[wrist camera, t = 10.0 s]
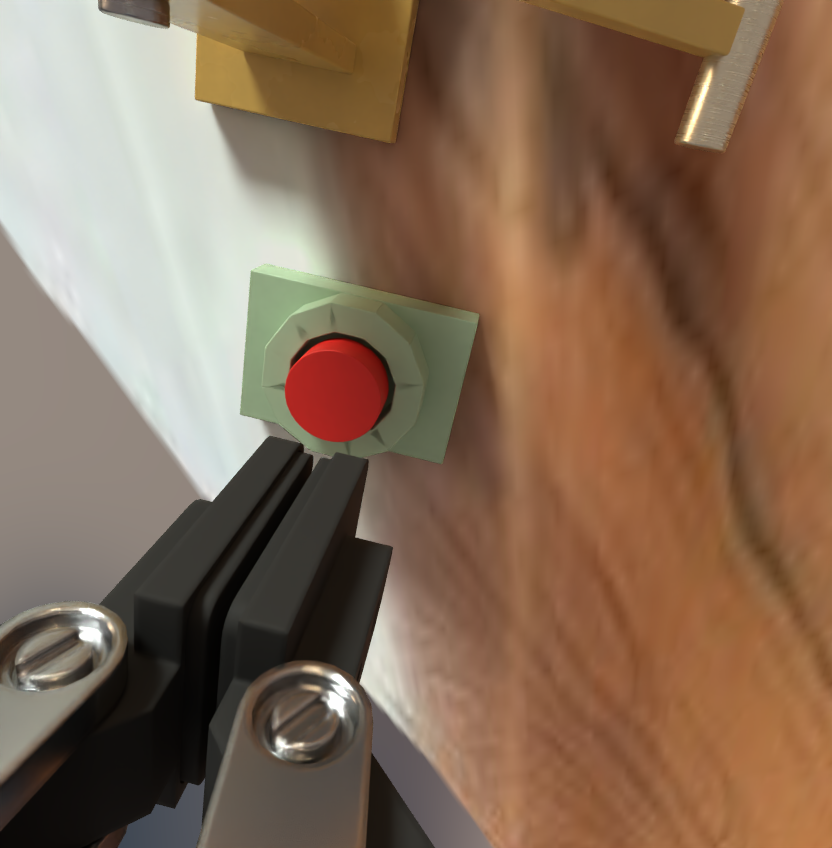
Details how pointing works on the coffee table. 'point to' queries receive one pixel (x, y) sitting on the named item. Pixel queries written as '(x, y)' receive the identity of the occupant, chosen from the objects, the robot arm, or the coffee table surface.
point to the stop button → (337, 390)
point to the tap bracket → (295, 57)
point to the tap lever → (694, 51)
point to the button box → (376, 329)
